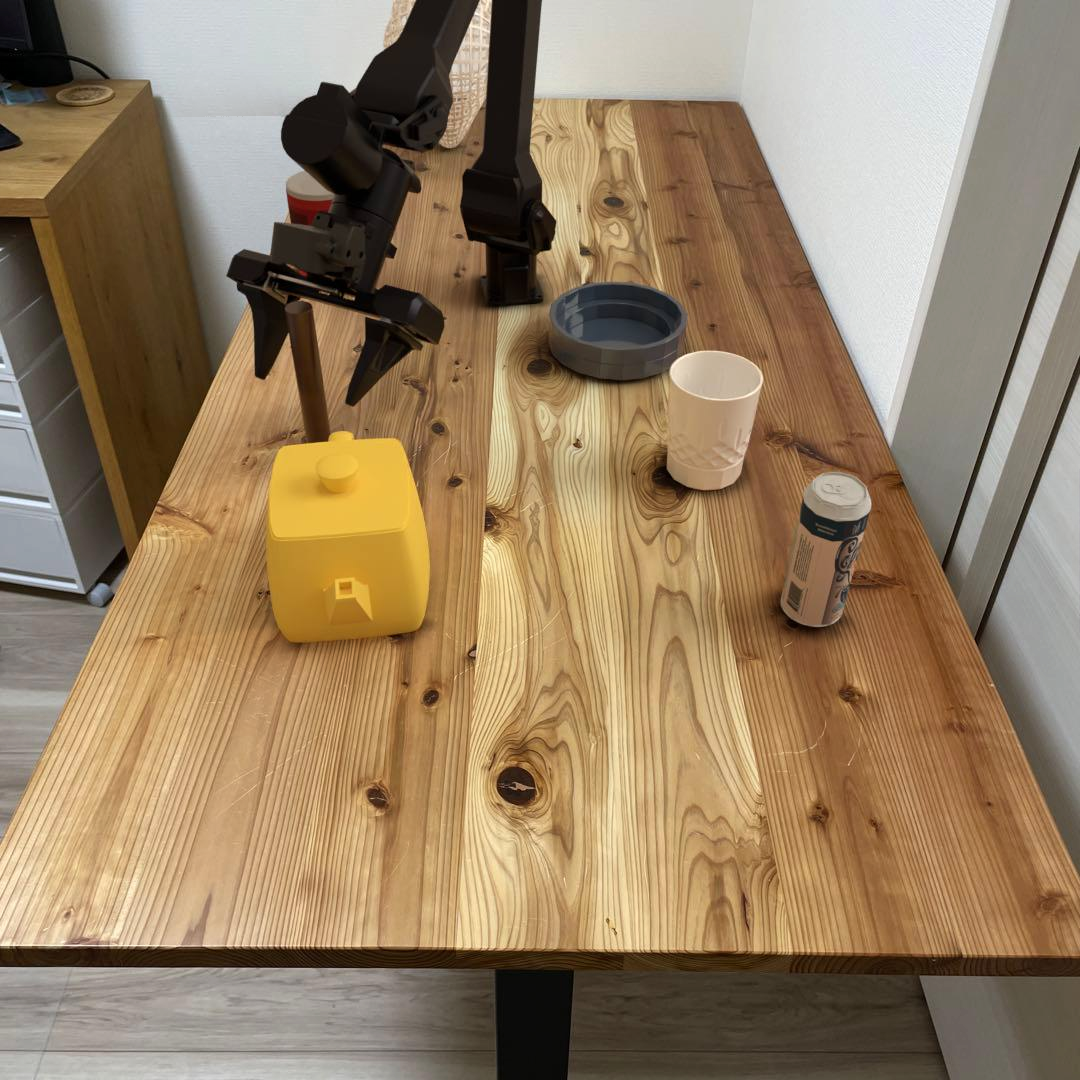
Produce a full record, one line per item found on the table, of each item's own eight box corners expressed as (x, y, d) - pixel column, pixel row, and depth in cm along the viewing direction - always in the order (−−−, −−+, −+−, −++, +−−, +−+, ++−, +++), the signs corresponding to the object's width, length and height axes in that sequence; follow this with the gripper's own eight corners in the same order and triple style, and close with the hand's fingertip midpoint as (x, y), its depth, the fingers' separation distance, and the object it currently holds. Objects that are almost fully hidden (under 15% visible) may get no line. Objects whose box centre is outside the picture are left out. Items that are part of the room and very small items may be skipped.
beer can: (841, 635, 81) (875, 513, 73) (778, 626, 82) (805, 504, 74) (841, 593, 85) (873, 472, 77) (780, 584, 85) (806, 464, 78)
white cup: (754, 453, 99) (770, 359, 92) (737, 503, 93) (753, 407, 87) (671, 436, 101) (681, 343, 94) (650, 484, 95) (659, 389, 89)
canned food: (378, 264, 127) (369, 173, 120) (341, 293, 121) (330, 200, 114) (324, 251, 129) (312, 162, 122) (285, 279, 124) (270, 187, 117)
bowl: (538, 320, 117) (538, 286, 115) (663, 310, 119) (666, 277, 117) (562, 389, 107) (563, 355, 104) (699, 377, 109) (704, 343, 106)
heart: (503, 185, 145) (501, 8, 131) (388, 185, 145) (373, 7, 130) (503, 113, 166) (501, -47, 152) (403, 113, 166) (391, -47, 151)
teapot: (440, 676, 78) (431, 555, 70) (267, 693, 76) (238, 572, 69) (424, 505, 93) (415, 390, 85) (279, 517, 91) (256, 400, 84)
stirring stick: (298, 453, 98) (271, 296, 88) (346, 449, 99) (325, 292, 88) (298, 482, 95) (270, 322, 84) (348, 478, 96) (326, 318, 85)
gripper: (219, 155, 86) (156, 337, 86) (418, 198, 80) (351, 394, 80) (291, 212, 97) (235, 375, 97) (472, 255, 91) (413, 428, 90)
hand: (303, 391), depth 91 cm, fingers open, 9 cm apart
